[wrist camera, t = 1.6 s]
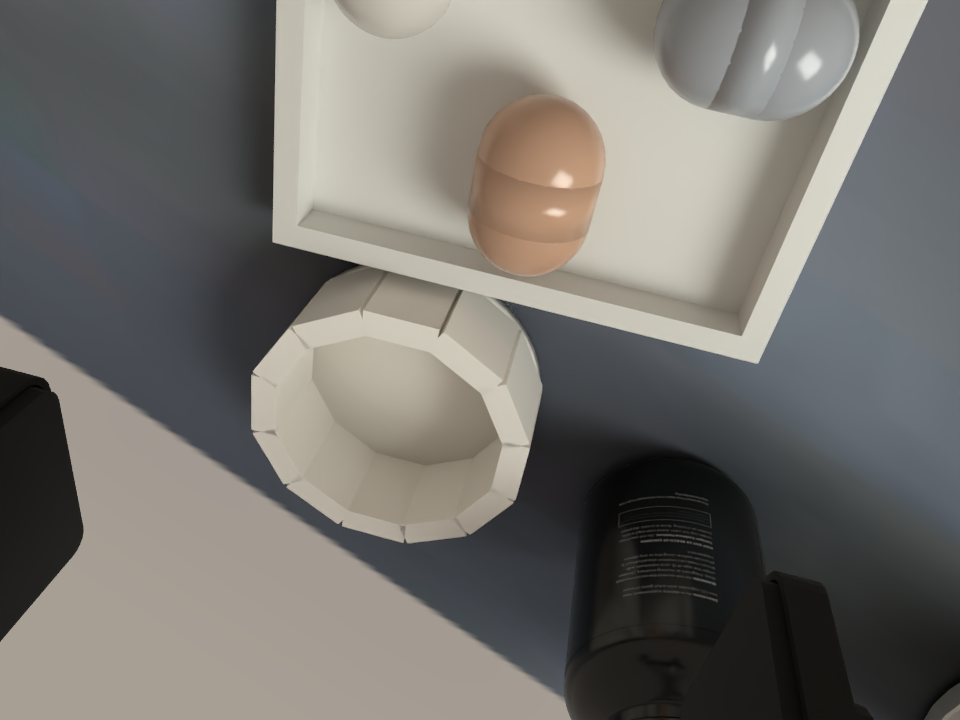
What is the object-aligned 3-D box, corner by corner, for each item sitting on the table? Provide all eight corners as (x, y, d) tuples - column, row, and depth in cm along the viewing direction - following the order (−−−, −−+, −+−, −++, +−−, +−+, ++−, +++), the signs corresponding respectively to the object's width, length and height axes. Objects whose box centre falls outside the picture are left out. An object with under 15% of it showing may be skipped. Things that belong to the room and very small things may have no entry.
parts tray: (933, -76, 18) (960, -70, 17) (751, 331, 25) (757, 363, 23) (311, -206, 19) (280, -213, 18) (296, 219, 26) (272, 242, 25)
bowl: (567, 297, 26) (554, 358, 22) (513, 495, 31) (496, 568, 28) (301, 231, 26) (251, 281, 23) (293, 436, 32) (251, 501, 28)
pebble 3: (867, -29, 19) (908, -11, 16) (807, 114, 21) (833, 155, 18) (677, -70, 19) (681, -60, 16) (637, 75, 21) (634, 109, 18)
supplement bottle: (553, 532, 32) (507, 828, 22) (634, 423, 28) (623, 721, 18) (695, 598, 32) (714, 917, 22) (795, 499, 29) (869, 831, 19)
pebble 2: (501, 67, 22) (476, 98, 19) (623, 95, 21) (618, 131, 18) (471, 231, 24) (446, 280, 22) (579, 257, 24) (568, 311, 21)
